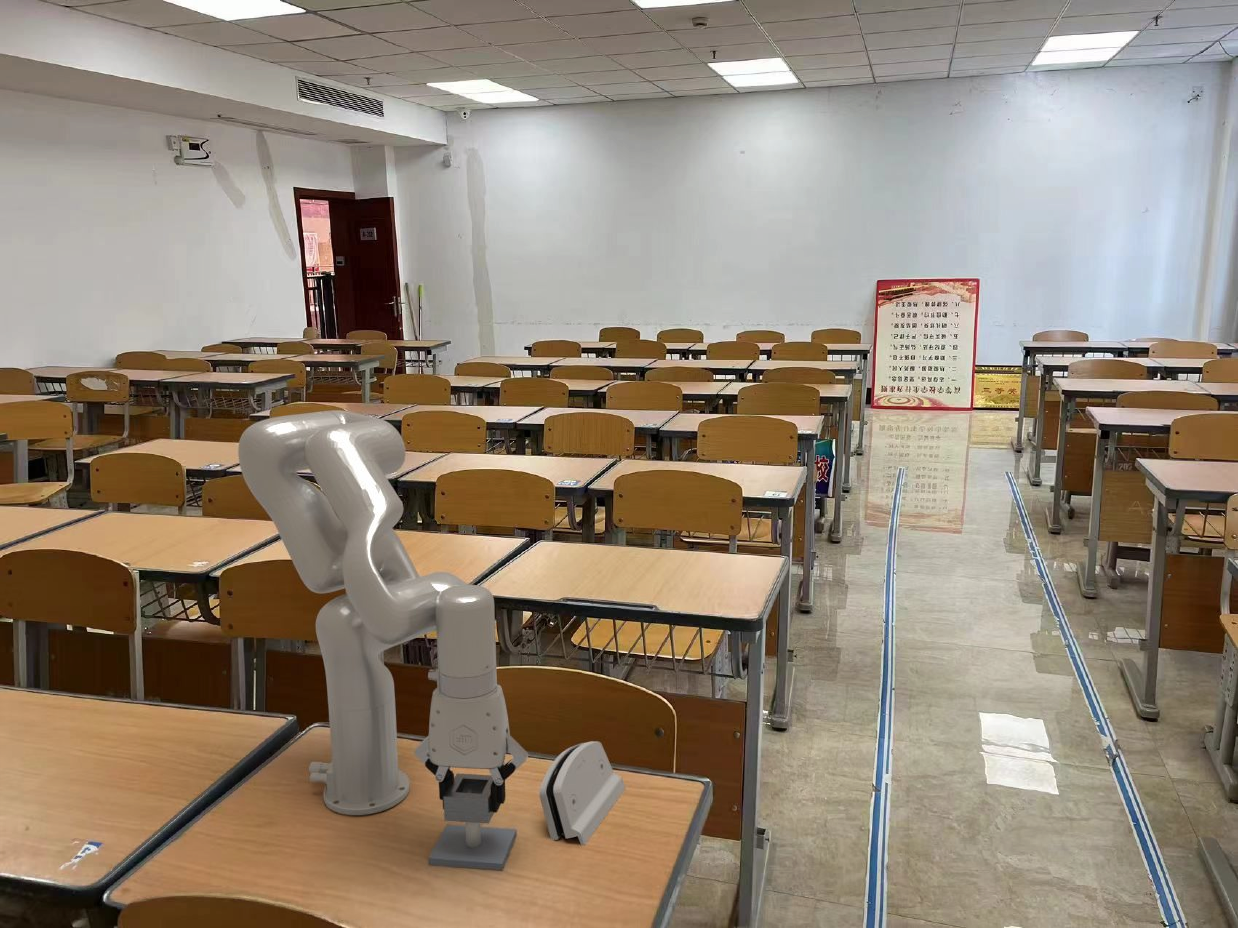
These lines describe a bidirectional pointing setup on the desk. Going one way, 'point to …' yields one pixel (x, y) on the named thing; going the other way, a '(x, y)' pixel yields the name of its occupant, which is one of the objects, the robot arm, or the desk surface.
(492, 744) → the robot arm
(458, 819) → the grey square hollow block
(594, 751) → the grey slotted holder
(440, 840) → the keeper
